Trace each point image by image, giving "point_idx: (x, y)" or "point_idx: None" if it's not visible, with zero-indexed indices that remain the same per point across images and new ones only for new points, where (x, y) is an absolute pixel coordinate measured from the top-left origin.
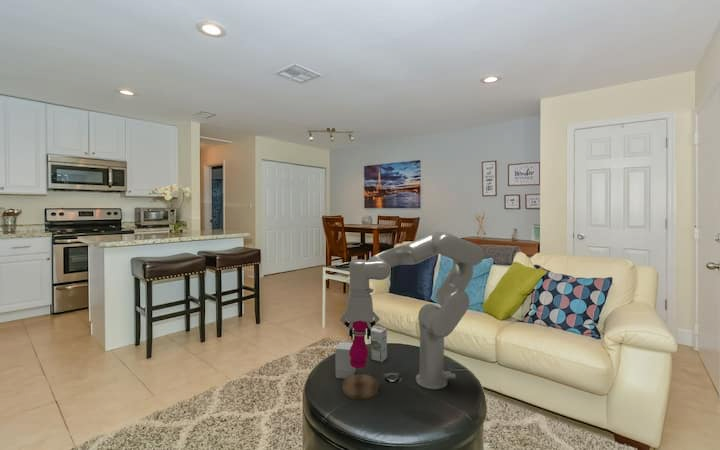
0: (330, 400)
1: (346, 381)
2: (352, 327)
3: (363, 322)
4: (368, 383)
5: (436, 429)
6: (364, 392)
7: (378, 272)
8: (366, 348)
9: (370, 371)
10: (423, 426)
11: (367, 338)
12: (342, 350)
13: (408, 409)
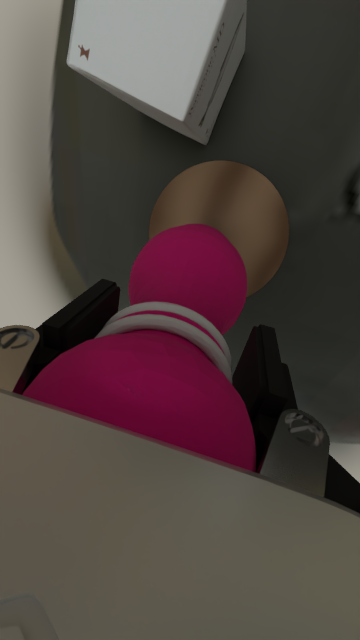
0: (115, 270)
1: (166, 212)
2: (64, 344)
3: None
4: (245, 251)
5: None
6: None
7: None
8: (230, 326)
9: (321, 74)
10: None
11: (233, 382)
12: (119, 93)
13: (313, 372)
